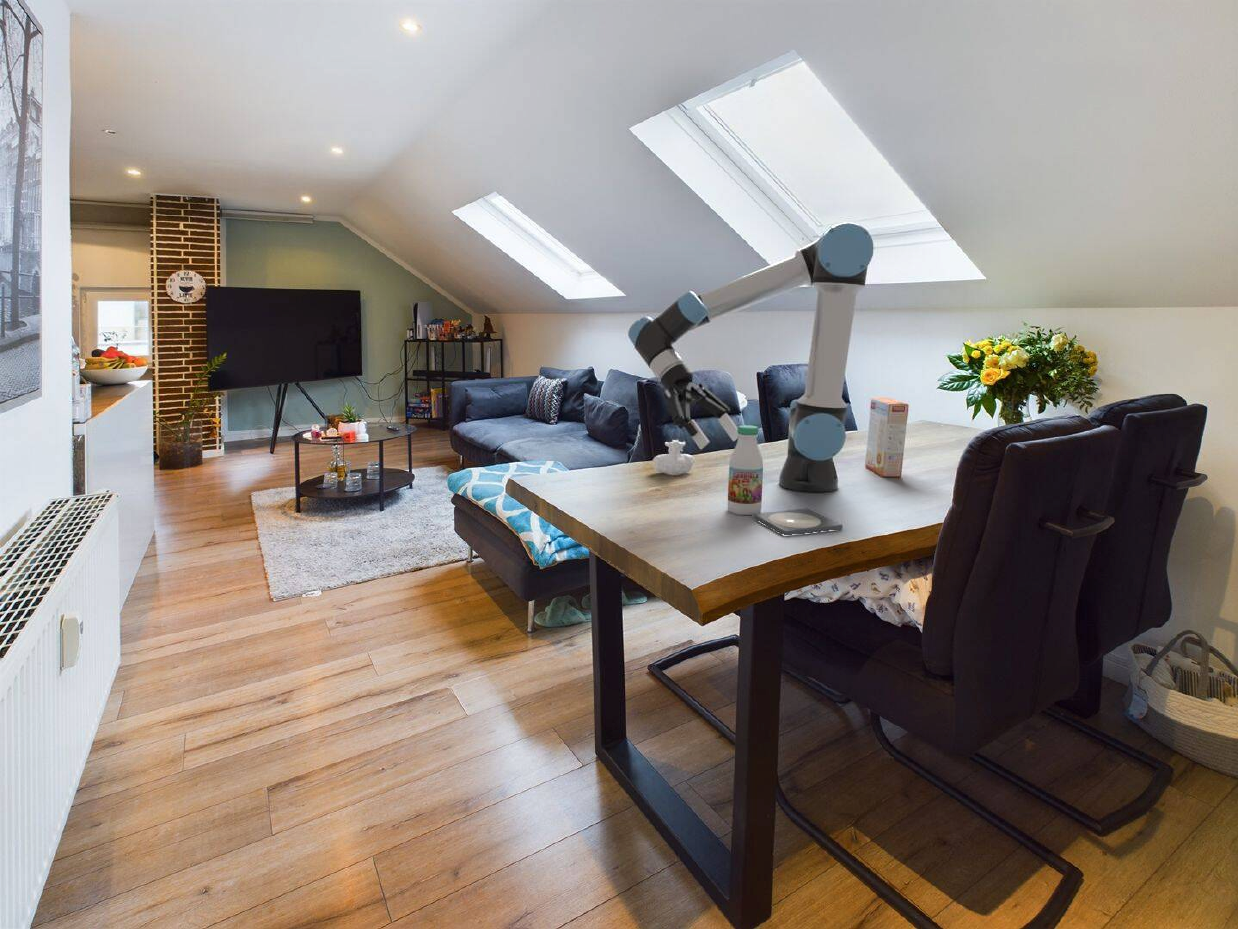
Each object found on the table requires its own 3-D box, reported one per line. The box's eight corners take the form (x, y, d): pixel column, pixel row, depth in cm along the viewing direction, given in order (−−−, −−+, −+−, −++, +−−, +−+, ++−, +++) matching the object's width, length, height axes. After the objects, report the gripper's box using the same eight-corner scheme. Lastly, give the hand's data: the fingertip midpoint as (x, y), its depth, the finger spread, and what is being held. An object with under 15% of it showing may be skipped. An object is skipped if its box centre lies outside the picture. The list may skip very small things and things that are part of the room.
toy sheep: (653, 482, 193) (656, 456, 184) (650, 461, 198) (654, 435, 189) (694, 481, 194) (700, 456, 185) (691, 461, 199) (696, 435, 190)
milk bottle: (723, 507, 161) (727, 423, 157) (755, 506, 162) (759, 423, 157) (731, 516, 153) (735, 429, 149) (765, 515, 154) (769, 429, 150)
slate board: (807, 513, 156) (807, 507, 156) (842, 530, 144) (842, 524, 144) (753, 518, 152) (753, 513, 151) (784, 536, 140) (785, 530, 139)
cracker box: (902, 477, 190) (910, 403, 185) (881, 477, 190) (887, 403, 185) (884, 466, 204) (890, 397, 199) (864, 466, 204) (870, 397, 199)
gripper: (693, 379, 175) (740, 443, 169) (629, 386, 157) (680, 459, 151) (710, 359, 171) (760, 425, 164) (648, 365, 153) (700, 439, 146)
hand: (722, 441), depth 158 cm, fingers open, 13 cm apart
